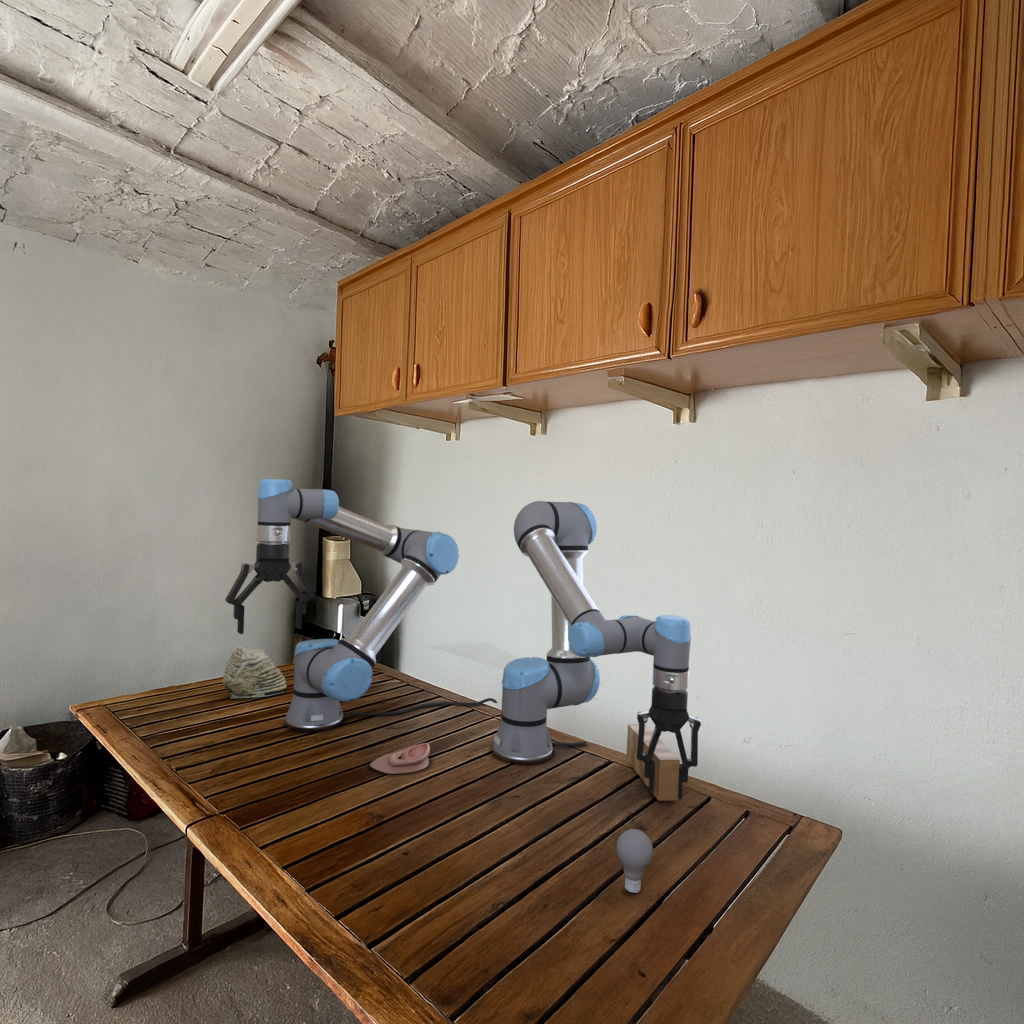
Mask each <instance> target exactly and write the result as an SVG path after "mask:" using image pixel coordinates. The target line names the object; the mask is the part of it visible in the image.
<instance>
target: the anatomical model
mask: <svg viewBox="0 0 1024 1024" xmlns="http://www.w3.org/2000/svg"><path fill="white" fill-rule="evenodd" d="M430 751H431V745H430V744H429V743H427V742H424V743H423V742H422V743H419V744H415V745H412V746H408V747H406V748H403V749H401V750H397V751H395V752H392V753H387V754H384V755H382V756H380V757H377V758H376V759H374V760H373V761H371V762H370V763H369V767H370V768H372V769H373V770H375V771H378V772H380V773H384V774H389V775H390V774H391V775H392V774H395V775H396V774H409V773H414V772H418V771H421V770H424V769H426V768H427V767H429V764H430V759H429V755H430Z"/></svg>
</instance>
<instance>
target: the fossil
mask: <svg viewBox="0 0 1024 1024" xmlns="http://www.w3.org/2000/svg"><path fill="white" fill-rule="evenodd" d="M222 676H223V677H222V685H223V687H224V688H225V690H226V691H228V693H229V698H230V699H250V698H264V697H271V696H275V695H281V694H284V693H285V691H286V689H287V687H288V686H287V680H286V678H285V676H284V674H283V673H282V672H281V669H279V668H278V667H277V665H276V663H275V662H274V660H273V659H272V658H271V657H270V656H269V655H268V654H267V653H266V652H265V650H264V649H263V648H260V647H258V648H251V647H247V646H246V647H245V646H238V647H237V648H236V649H235V650H233V651H232V653H231V656H230V657H229V659H228V660H227V663H226V666H225V668H224V671H223V675H222Z"/></svg>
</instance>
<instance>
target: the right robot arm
mask: <svg viewBox="0 0 1024 1024" xmlns="http://www.w3.org/2000/svg"><path fill="white" fill-rule="evenodd" d="M597 525H598V524H597V520H596V517H595V514H594V513H593V511H592V510H591V509H590V507H588V505H585V504H583V503H579V502H574V501H545V500H536V501H535V500H534V501H532V502H529V503H528V504H526V505H525V506H523V507H522V508H521V509H520V510H519V512H518V514H517V515H516V517H515V520H514V523H513V537H514V541H515V543H516V546H517V548H518V549H519V550H520V552H521V554H522V555H523V556H524V557H528V558H529V560H530V561H531V563H532V565H533V566H534V568H535V569H536V571H537V573H538V575H539V576H540V578H541V579H542V581H543V583H544V584H545V587H546V588H547V590H548V592H549V593H550V595H551V596H550V597H551V599H550V600H551V648H550V649H549V650H548V651H547V652H546V659H545V658H542V657H538V656H532V657H529V656H528V657H527V656H525V657H520V658H516V659H513V660H511V661H508V663H507V664H506V665H505V667H504V668H503V672H502V673H503V674H502V680H501V685H502V689H501V714H500V715H501V717H500V723H499V726H498V728H497V731H496V734H495V735H494V737H493V742H492V753H493V755H494V756H495V757H496V758H498V759H500V760H502V761H504V762H508V763H510V764H511V763H512V764H520V765H534V764H539V763H543V762H546V761H548V760H549V759H551V758H552V756H553V746H560V747H578V746H580V747H581V746H586V745H587V741H579V742H561V741H552V739H551V735H550V732H549V729H548V724H547V721H548V719H547V717H548V710H553V709H557V708H564V707H571V706H574V707H575V706H580V705H582V704H585V703H589V702H591V701H592V700H593V698H595V696H596V695H597V693H598V691H599V688H600V683H601V677H600V670H599V669H598V668H597V667H598V666H597V664H596V662H595V661H594V660H592V659H591V658H597V657H600V656H601V657H603V656H609V655H616V654H617V655H619V654H627V653H635V652H636V653H637V652H638V653H643V654H646V655H649V656H652V657H653V661H652V685H653V687H652V688H651V705H650V708H649V709H648V711H643V712H642V711H638V712H637V713H636V719H637V724H639V731H638V743H637V759H638V760H641V761H643V762H644V763H645V765H644V776H645V778H649V788H648V796H653V795H654V794H653V773H654V761H652V757H653V754H654V751H655V748H656V745H657V743H658V740H659V739H660V737H661V735H662V733H666V732H669V733H673V734H675V738H676V743H677V748H678V751H679V756H680V760H681V763H680V766H679V785H678V800H682V799H683V783H684V784H685V783H686V784H688V781H689V770H690V768H692V767H694V768H697V767H698V764H699V763H698V762H699V761H698V759H699V758H698V755H699V731H700V729H701V725H702V723H701V719H700V718H699V717H694V716H691V715H689V712H688V698H689V697H688V696H689V693H688V691H687V689H688V688H689V676H690V675H689V674H690V672H689V671H690V651H691V641H692V636H691V635H692V634H691V621H690V619H688V618H686V617H685V616H680V615H673V614H660V615H658V616H656V618H655V620H652V619H648V618H645V617H641V616H639V615H630V614H623V615H622V616H620V617H619V618H617V619H606V618H605V617H604V615H603V614H602V612H601V611H600V610H599V608H598V606H597V605H596V604H595V602H594V600H593V598H592V597H591V596H590V594H589V592H588V591H587V589H586V587H585V586H584V561H583V559H584V557H585V556H586V555H587V554H588V553H589V545H590V544H592V543H593V542H594V541H595V538H596V536H597V531H598V526H597ZM649 718H650V719H651V721H652V722H653V724H654V728H653V731H652V732H653V735H652V737H651V740H650V743H649V746H648V749H647V752H646V754H644V753H643V744H644V732H645V724H647V723H648V721H649ZM687 723H688V725H689V728H690V758H688V756H687V752H686V748H685V743H684V739H683V734H682V731H681V729H682V728H683V727H684V726H685V725H686V724H687Z"/></svg>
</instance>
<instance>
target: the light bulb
mask: <svg viewBox="0 0 1024 1024" xmlns="http://www.w3.org/2000/svg"><path fill="white" fill-rule="evenodd" d="M615 849H616V854H617V857H618V859H619V861H620V863H621V865H622V867H623V873H624V874H623V875H624V876H625V878H624V888H625V890H627V891H628V892H630V893H634V894H635V893H639V892H640V891H641V889H642V887H641V886H642V879H643V877H644V875H645V871H646V868H647V867H648V866H649V864H650V863H651V861H652V859H653V855H654V847H653V843H652V841H651V838H649V836H648V835H647V834H646V833H645V832H643V831H642V830H641V829H636V828H629V829H627V830H625V831H623V832H622V833H621V834H620V835H619V837H618V839H617V841H616V847H615Z"/></svg>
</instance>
